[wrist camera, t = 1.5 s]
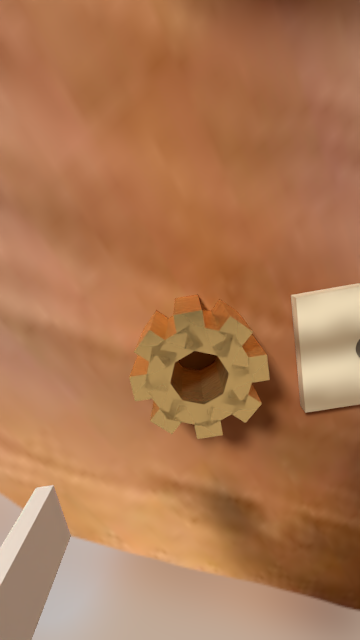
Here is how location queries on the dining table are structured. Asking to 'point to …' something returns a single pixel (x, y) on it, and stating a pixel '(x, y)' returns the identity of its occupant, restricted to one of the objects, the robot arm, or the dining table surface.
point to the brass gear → (193, 385)
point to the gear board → (328, 347)
